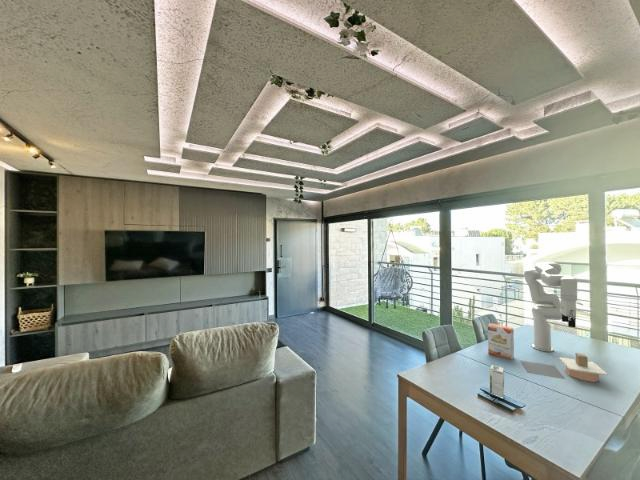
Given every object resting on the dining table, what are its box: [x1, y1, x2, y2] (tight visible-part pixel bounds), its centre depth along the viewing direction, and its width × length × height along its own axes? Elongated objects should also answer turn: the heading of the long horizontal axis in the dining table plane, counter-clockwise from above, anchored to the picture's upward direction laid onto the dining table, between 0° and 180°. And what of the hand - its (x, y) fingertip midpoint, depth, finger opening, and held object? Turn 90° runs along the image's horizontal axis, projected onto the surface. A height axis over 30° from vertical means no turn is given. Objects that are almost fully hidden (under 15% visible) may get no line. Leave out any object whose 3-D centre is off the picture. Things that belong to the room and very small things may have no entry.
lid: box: [558, 352, 609, 377], centre depth 153 cm, size 16×16×7 cm
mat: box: [519, 359, 566, 380], centre depth 162 cm, size 18×18×1 cm
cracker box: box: [487, 323, 515, 360], centre depth 182 cm, size 14×6×21 cm, turn 37°
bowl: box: [565, 365, 600, 383], centre depth 153 cm, size 13×13×6 cm
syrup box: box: [489, 364, 505, 398], centre depth 136 cm, size 6×6×14 cm
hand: (568, 324), depth 162 cm, fingers open, 9 cm apart
